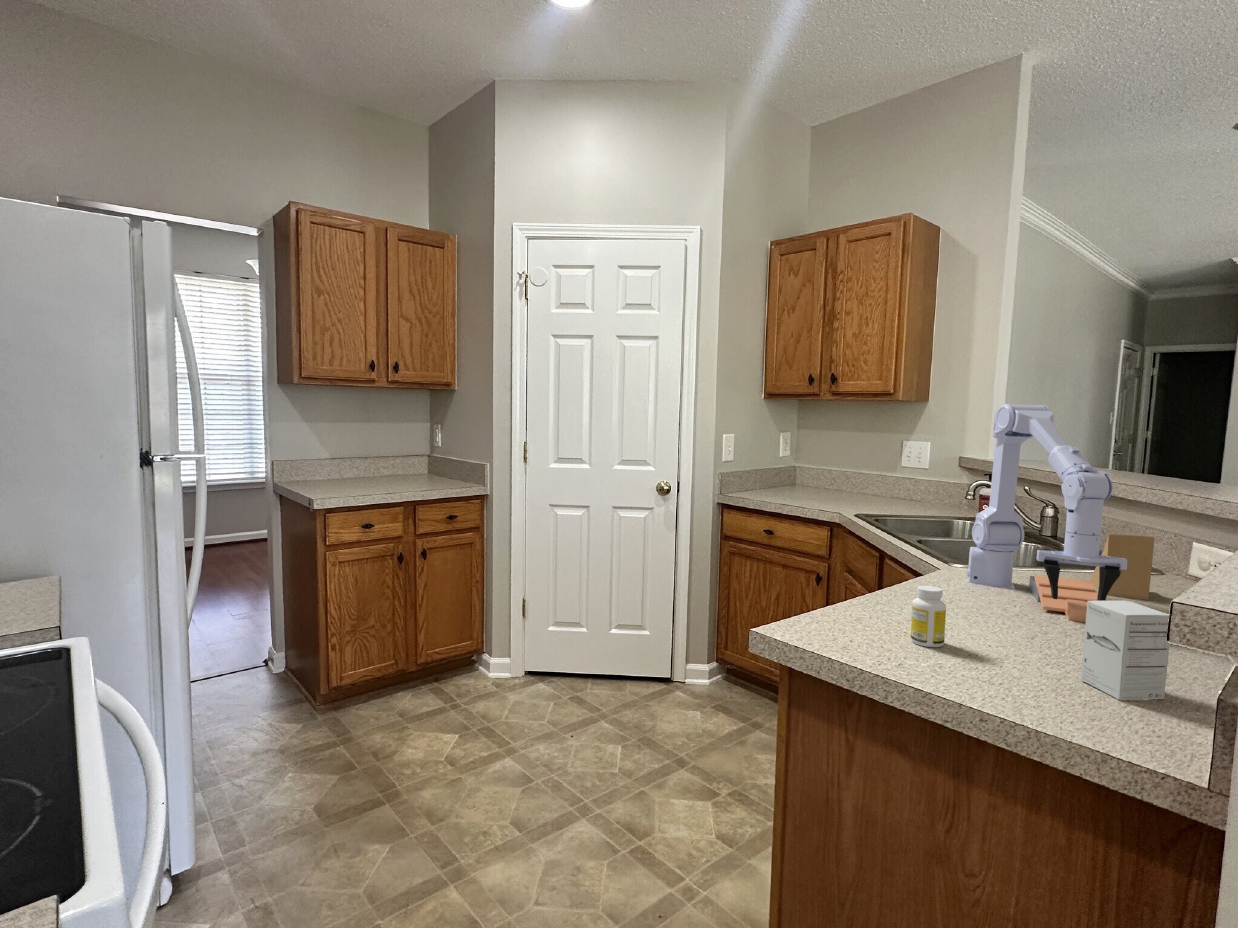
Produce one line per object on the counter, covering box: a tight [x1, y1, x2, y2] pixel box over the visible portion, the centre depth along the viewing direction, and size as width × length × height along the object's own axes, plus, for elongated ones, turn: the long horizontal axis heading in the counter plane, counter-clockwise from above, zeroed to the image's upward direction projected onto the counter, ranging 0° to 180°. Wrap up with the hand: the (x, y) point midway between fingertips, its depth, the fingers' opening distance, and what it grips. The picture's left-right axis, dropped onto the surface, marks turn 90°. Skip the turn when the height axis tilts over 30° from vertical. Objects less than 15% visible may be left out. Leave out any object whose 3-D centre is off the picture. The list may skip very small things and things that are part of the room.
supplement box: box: [1080, 600, 1171, 701], centre depth 98 cm, size 7×7×13 cm
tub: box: [1028, 575, 1041, 603], centre depth 147 cm, size 10×13×4 cm
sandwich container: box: [1089, 533, 1156, 600], centre depth 156 cm, size 9×15×15 cm, turn 156°
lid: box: [1034, 574, 1098, 623], centre depth 137 cm, size 11×18×3 cm, turn 155°
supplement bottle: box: [910, 585, 947, 648], centre depth 117 cm, size 5×5×10 cm
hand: (1077, 600), depth 131 cm, fingers open, 7 cm apart
